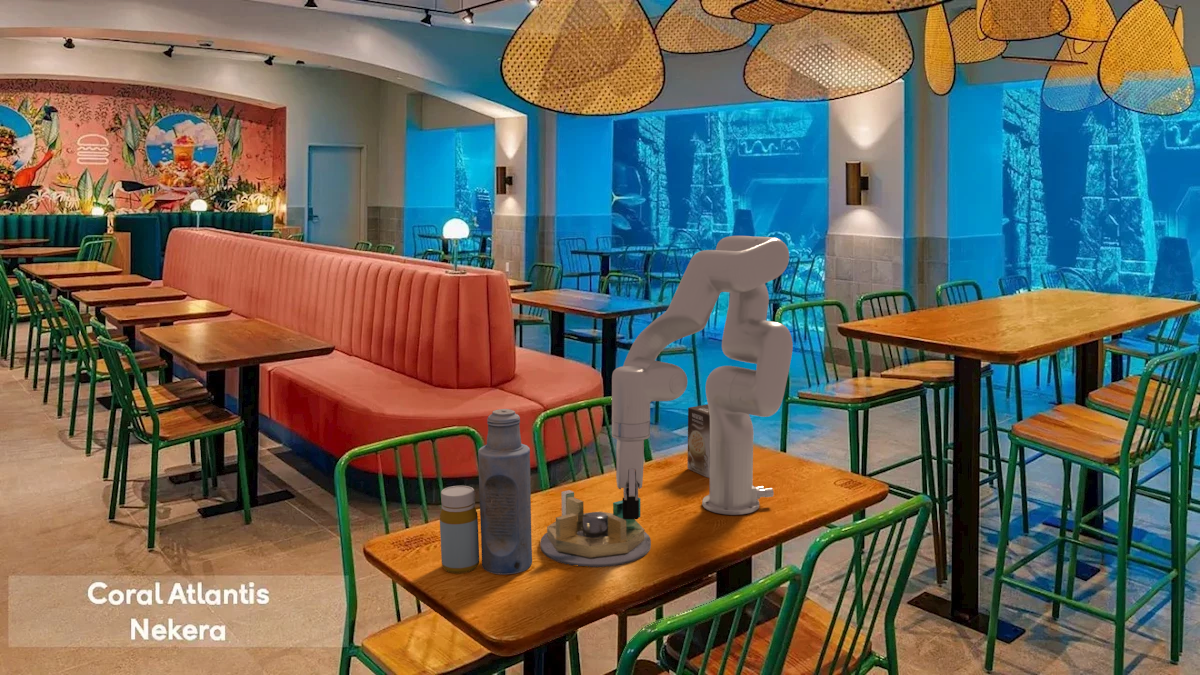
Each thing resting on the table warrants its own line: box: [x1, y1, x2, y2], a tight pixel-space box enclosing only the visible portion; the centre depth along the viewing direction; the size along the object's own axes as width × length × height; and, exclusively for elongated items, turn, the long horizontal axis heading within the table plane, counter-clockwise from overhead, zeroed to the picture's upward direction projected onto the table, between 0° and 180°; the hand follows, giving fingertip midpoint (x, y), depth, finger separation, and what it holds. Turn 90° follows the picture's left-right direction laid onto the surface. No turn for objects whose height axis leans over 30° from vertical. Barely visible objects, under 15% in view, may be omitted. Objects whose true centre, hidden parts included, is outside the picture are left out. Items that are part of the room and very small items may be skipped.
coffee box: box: [686, 403, 710, 479], centre depth 235 cm, size 9×6×16 cm
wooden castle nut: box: [546, 496, 645, 557], centre depth 188 cm, size 20×18×6 cm
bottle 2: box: [477, 408, 533, 575], centre depth 177 cm, size 10×10×30 cm
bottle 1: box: [439, 485, 480, 574], centre depth 177 cm, size 7×7×15 cm
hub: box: [540, 489, 652, 568], centre depth 188 cm, size 22×22×8 cm
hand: (630, 517), depth 189 cm, fingers closed
